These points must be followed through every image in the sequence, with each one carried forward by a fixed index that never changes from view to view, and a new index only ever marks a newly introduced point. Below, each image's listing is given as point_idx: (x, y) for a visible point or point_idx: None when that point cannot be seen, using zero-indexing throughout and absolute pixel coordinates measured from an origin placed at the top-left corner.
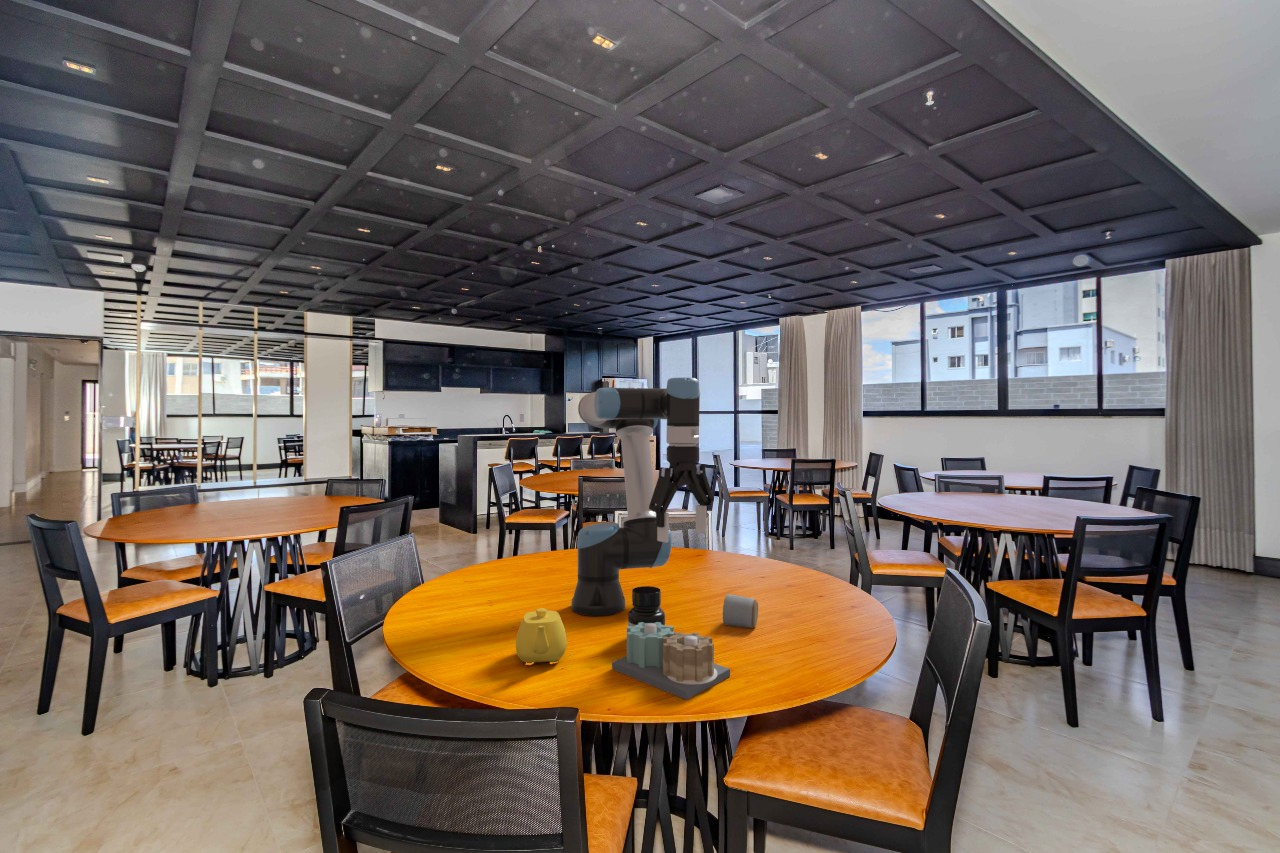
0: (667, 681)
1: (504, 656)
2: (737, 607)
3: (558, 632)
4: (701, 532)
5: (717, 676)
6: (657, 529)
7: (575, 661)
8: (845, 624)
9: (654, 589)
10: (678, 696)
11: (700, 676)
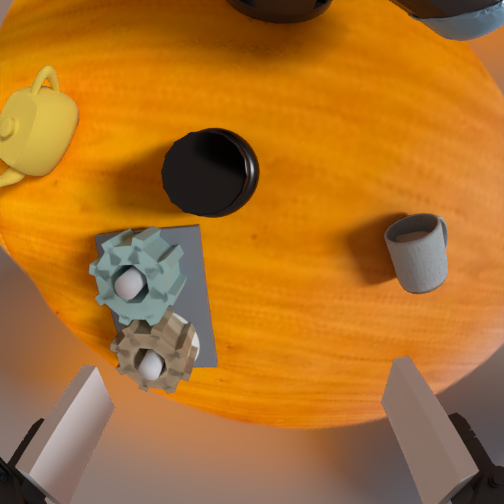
0: None
1: None
2: (405, 269)
3: (26, 170)
4: (385, 391)
5: None
6: (59, 399)
7: (77, 171)
8: (472, 339)
9: (225, 185)
10: None
11: None
